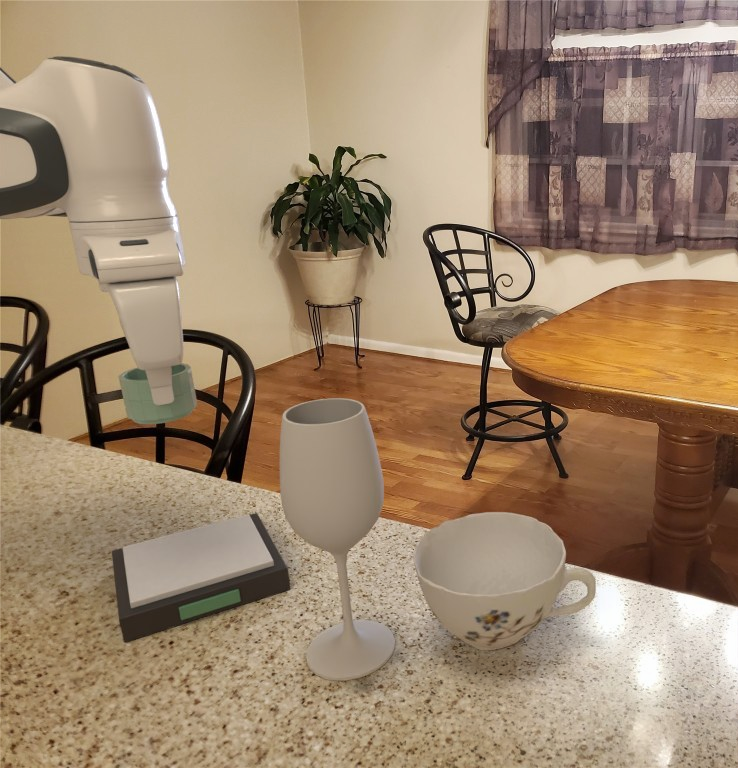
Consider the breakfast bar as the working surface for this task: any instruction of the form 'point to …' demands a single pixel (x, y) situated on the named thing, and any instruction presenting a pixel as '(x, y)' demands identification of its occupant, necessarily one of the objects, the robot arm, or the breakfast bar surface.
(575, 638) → the breakfast bar surface
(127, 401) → the bowl
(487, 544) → the teacup
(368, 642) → the wineglass
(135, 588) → the scale
